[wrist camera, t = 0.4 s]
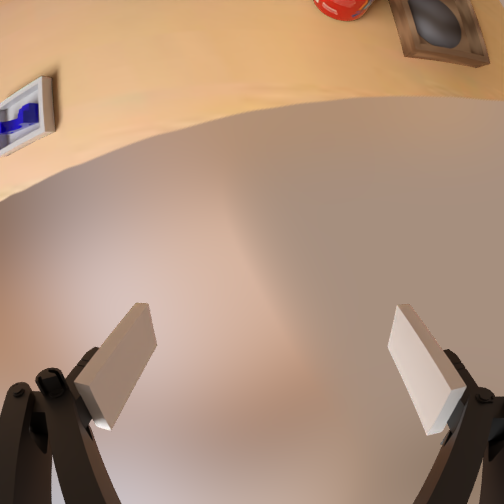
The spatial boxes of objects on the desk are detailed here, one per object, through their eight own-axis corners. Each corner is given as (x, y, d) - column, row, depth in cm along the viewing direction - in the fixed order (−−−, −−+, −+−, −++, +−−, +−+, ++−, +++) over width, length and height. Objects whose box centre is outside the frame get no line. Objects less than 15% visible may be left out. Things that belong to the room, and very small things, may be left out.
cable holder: (38, 103, 36) (23, 102, 32) (38, 122, 37) (23, 122, 33) (11, 116, 37) (-4, 116, 33) (11, 133, 38) (-4, 134, 34)
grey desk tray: (4, 107, 36) (-6, 107, 34) (52, 77, 35) (41, 75, 32) (7, 155, 40) (-3, 157, 37) (55, 131, 38) (44, 131, 35)
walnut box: (381, -19, 27) (389, -31, 23) (453, -4, 25) (464, -12, 22) (404, 56, 31) (415, 49, 27) (476, 67, 30) (490, 63, 26)
